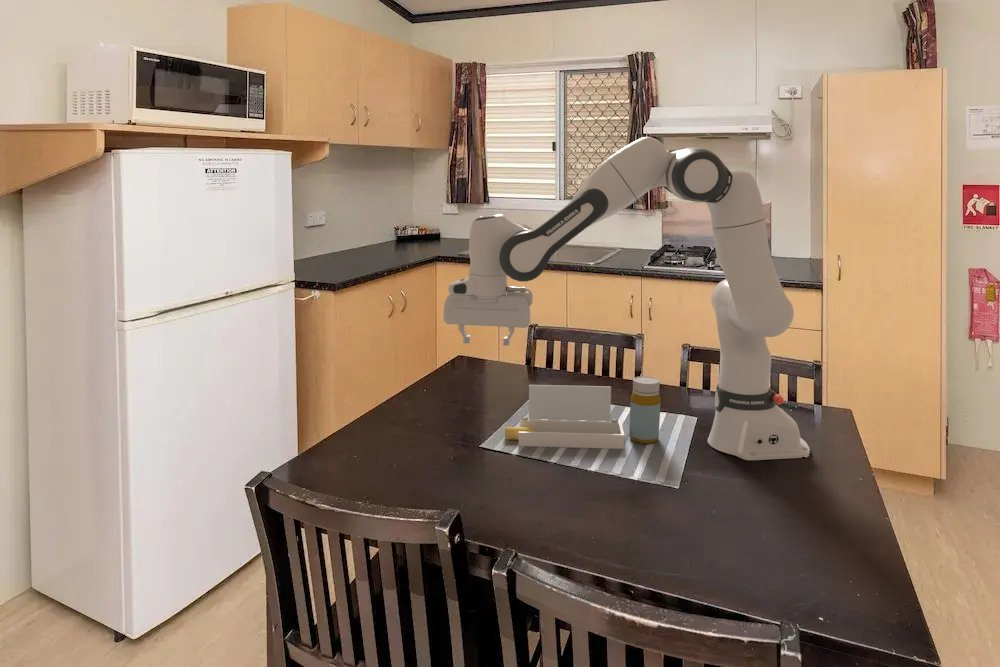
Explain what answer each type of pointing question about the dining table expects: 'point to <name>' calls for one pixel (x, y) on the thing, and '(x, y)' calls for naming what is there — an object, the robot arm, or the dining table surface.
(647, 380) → the bottle
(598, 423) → the white long shallow tray
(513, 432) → the yellow cylinder
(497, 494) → the dining table surface
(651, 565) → the dining table surface
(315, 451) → the dining table surface
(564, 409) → the cover
